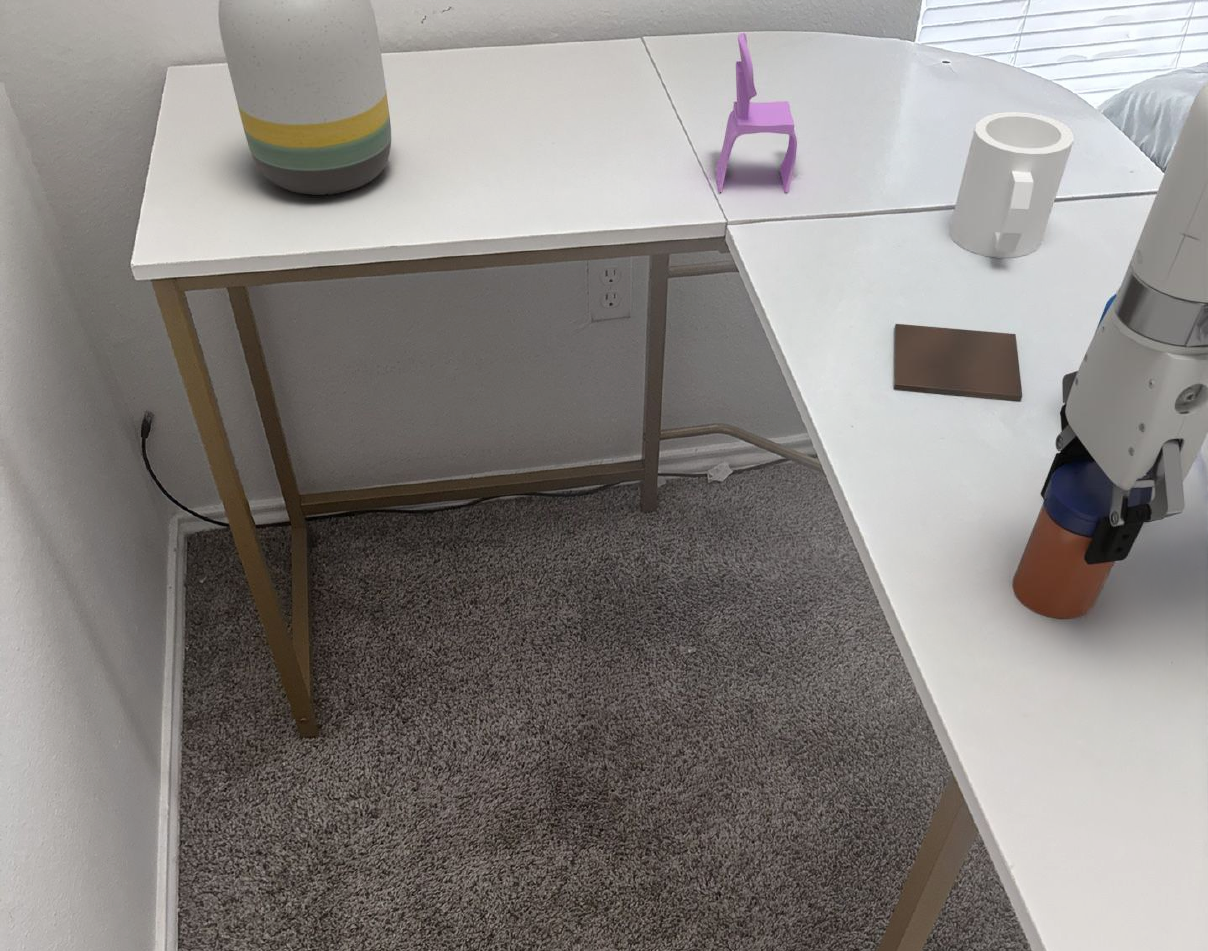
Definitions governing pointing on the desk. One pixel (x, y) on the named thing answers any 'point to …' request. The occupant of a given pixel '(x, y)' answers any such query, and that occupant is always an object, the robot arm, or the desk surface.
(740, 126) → the toy chair
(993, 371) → the coaster
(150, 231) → the desk surface
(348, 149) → the vase
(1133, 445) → the robot arm
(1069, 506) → the jar lid
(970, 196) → the mug
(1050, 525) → the jar
